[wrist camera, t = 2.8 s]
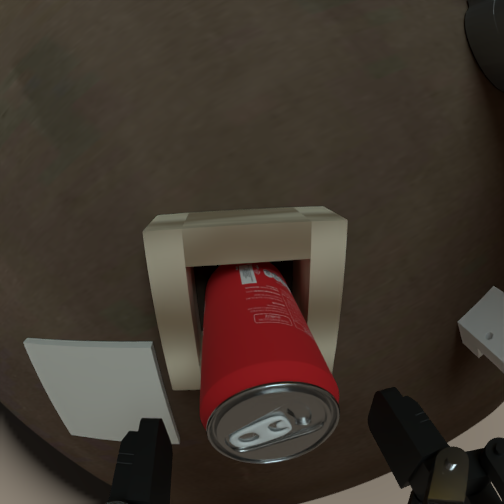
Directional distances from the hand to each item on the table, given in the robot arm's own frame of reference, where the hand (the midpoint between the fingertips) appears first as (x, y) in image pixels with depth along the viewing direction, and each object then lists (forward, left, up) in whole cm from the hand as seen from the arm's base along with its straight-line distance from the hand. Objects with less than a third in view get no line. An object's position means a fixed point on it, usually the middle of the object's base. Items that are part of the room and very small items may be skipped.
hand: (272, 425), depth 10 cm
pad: (+10, -13, -11) cm, 20 cm away
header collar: (0, 0, -11) cm, 11 cm away
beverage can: (0, 0, -12) cm, 12 cm away
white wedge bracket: (+6, +24, -12) cm, 27 cm away
